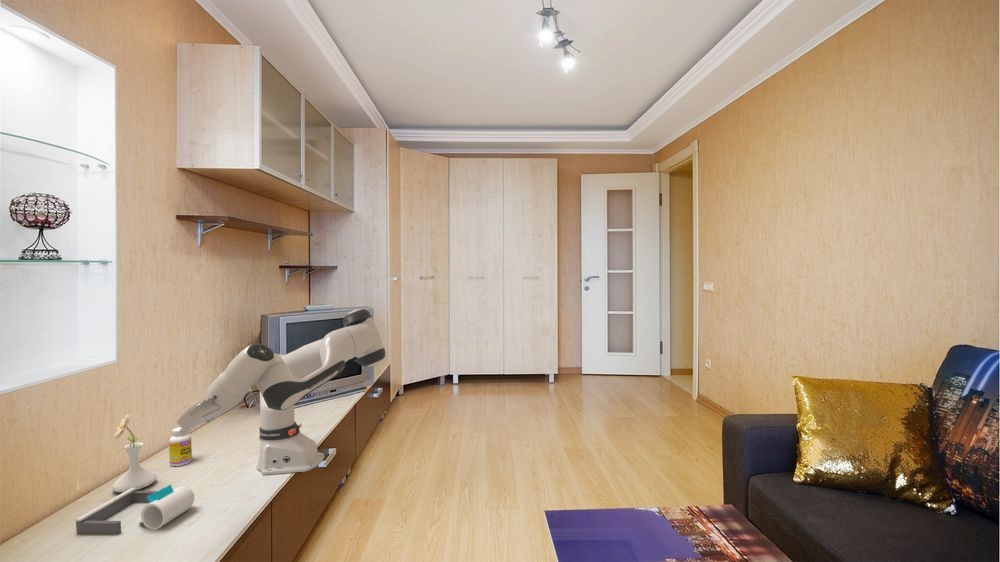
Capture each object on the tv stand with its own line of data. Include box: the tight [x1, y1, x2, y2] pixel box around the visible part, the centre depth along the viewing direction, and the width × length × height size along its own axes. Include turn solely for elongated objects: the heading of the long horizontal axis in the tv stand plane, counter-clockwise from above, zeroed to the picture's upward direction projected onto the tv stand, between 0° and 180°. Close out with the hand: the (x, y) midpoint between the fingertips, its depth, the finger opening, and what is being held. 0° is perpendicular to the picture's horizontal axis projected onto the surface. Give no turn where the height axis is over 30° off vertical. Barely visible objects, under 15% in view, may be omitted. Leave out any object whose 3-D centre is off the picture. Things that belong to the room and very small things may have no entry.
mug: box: [138, 484, 195, 530], centre depth 127 cm, size 12×9×12 cm
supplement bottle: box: [168, 426, 193, 467], centre depth 163 cm, size 7×7×13 cm
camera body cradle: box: [75, 488, 158, 535], centre depth 128 cm, size 12×17×4 cm, turn 177°
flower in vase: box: [111, 413, 158, 493], centre depth 145 cm, size 13×11×25 cm
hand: (195, 426), depth 126 cm, fingers open, 8 cm apart
